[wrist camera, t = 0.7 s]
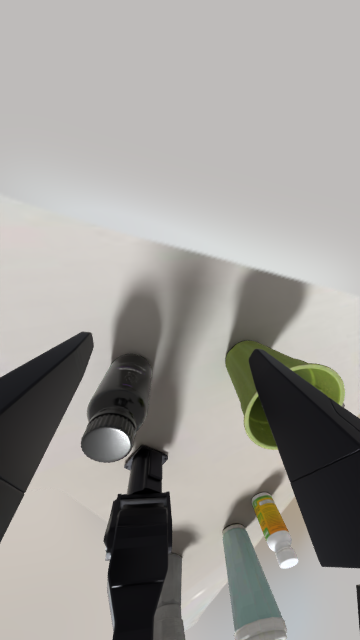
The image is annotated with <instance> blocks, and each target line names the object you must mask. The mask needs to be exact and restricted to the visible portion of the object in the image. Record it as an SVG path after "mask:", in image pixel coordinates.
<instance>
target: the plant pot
mask: <svg viewBox="0 0 360 640" xmlns="http://www.w3.org/2000/svg"><path fill="white" fill-rule="evenodd" d="M254 349H263V350H264V351H266V352H267V353H268V354H270V355H271V356H273V357H274V358H275V359H277V360H278V361H280V362H281V363H282V364H284V365H285V366H286V367H288V368H289V369H291V370H292V371H293V372H295V373H296V374H298V375H299V376H300V377H302V378H303V379H304V380H306V381H307V382H309V383H310V384H311V385H313V386H314V387H316V388H317V389H318V390H320V391H321V392H322V393H324V394H325V395H327V396H328V397H329V398H331V399H332V400H334V401H335V402H336V403H338V404H339V405H341V406H342V405H343V401H344V397H345V390H344V384H343V381H342V379H341V377H340V376H339V375H338V374H337V373H336V372H335V371H334V370H333V369H331V368H329V367H327V366H324V365H320V364H312V363H306V362H304V361H302V360H298V359H293V358H291V357H289V356H287V355H284V354H282V353H280V352H278V351H275V350H273V349H271V348H269V347H266V346H264V345H262V344H260V343H257V342H255V341H249V340H248V341H242V342H240V343H238V344H236V345H235V346H234V347H233V348H232V349H231V350H230V351H229V352H228V354H227V357H226V361H225V363H226V368H227V370H228V373H229V375H230V378H231V380H232V383H233V385H234V387H235V390H236V393H237V395H238V397H239V400H240V402H241V408H242V411H243V414H244V427H245V430H246V433H247V435H248V437H249V438H250V439H251V440H252V441H253V442H254V443H255V444H257V445H258V446H260V447H263V448H266V449H272V450H278V448H277V445H276V442H275V440H274V437H273V434H272V431H271V429H270V426H269V423H268V421H267V418H266V415H265V412H264V410H263V407H262V404H261V401H260V399H259V396H258V393H257V391H256V388H255V384H254V381H253V377H252V373H251V369H250V365H249V357H250V355H251V354H252V352H253V350H254Z"/></svg>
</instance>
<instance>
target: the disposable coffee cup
mask: <svg viewBox="0 0 360 640" xmlns="http://www.w3.org/2000/svg"><path fill="white" fill-rule="evenodd" d="M223 544H224V552H225V560H226V567H227V575H228V583H229V590H230V597H231V605H232V613H233V621H234V628H235V634H234V637H235V640H286V639H287V636H286V633H287V628H286V625H285V621H284V620H283V618H282V616H281V613H280V611H279V608H278V606H277V604H276V601H275V599H274V596H273V594H272V591H271V589H270V587H269V584H268V582H267V579H266V577H265V575H264V572H263V570H262V567H261V565H260V562H259V560H258V558H257V555H256V553H255V550H254V548H253V545H252V543H251V541H250V538H249V536H248V533H247V531H246V530H245V528H244V526H243V525H240V524H235V525H231V526H229V527H227V528H226V529H224V531H223Z"/></svg>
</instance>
